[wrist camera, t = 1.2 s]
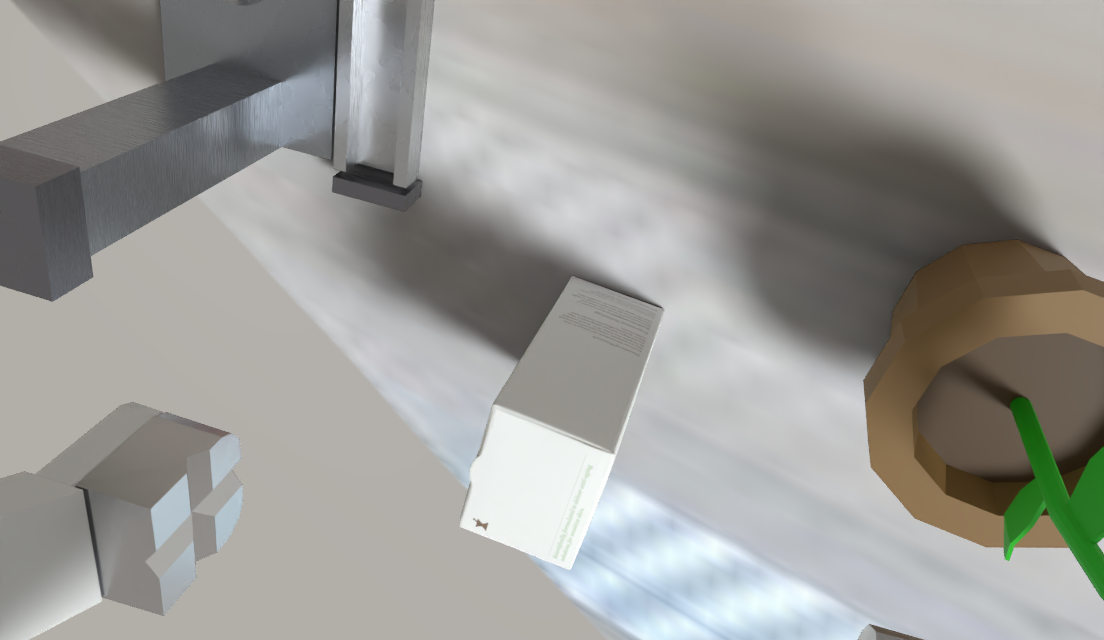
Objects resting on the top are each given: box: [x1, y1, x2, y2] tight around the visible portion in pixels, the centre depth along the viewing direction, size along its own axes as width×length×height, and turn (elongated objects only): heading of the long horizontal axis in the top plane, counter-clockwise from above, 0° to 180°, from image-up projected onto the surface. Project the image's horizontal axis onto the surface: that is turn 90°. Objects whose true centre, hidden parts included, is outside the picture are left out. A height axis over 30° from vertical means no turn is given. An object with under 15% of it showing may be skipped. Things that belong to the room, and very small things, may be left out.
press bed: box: [0, 0, 340, 301], centre depth 41 cm, size 17×11×21 cm, turn 170°
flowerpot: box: [863, 239, 1104, 600], centre depth 35 cm, size 14×14×30 cm
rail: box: [332, 0, 434, 211], centre depth 47 cm, size 19×5×3 cm, turn 170°
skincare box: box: [459, 276, 665, 570], centre depth 48 cm, size 8×7×16 cm
